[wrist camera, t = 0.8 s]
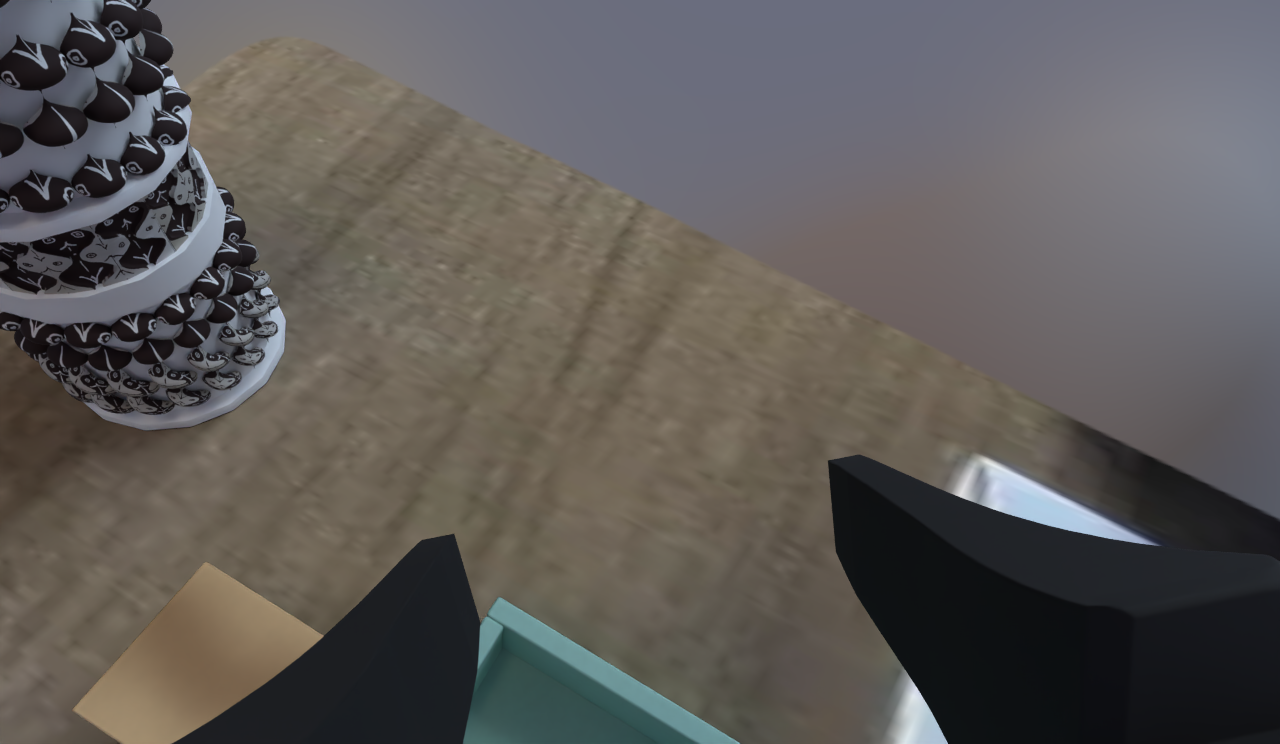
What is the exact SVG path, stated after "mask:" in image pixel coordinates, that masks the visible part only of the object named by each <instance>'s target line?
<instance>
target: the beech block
mask: <svg viewBox="0 0 1280 744" xmlns="http://www.w3.org/2000/svg"><path fill="white" fill-rule="evenodd" d="M322 637H324V635H322V634H320V633H319V632H317V631H316V630H314V629H312V628H311V627H309V626H308V625H306V624H305V623H303V622H301V621H300V620H298V619H297V618H295V617H293V616H292V615H290V614H289V613H287V612H286V611H284V610H282V609H281V608H279V607H278V606H276V605H275V604H273V603H271V602H270V601H268V600H267V599H265V598H263V597H262V596H260V595H259V594H257V593H256V592H254V591H252V590H251V589H249V588H248V587H246V586H244V585H243V584H241V583H240V582H238V581H237V580H235V579H233V578H232V577H230V576H229V575H227V574H225V573H224V572H222V571H221V570H219V569H218V568H216V567H214V566H213V565H211V564H210V563H208V562H205V563H204V564H203V565H202V566H201V567H200V568H199V569H198V570H197V571H196V573H195V574H194V575H193V576H192V577H191V578H190V579H189V580H188V581H187V583H186V584H185V585H184V586H183V587H182V588H181V589H180V590H179V591H178V593H177V594H176V595H175V596H174V597H173V598H172V599H171V600H170V601H169V603H168V604H167V605H166V606H165V607H164V608H163V609H162V610H161V611H160V613H159V614H158V615H157V616H156V617H155V618H154V619H153V620H152V621H151V623H150V624H149V625H148V626H147V627H146V628H145V629H144V630H143V631H142V633H141V634H140V635H139V636H138V637H137V638H136V639H135V640H134V641H133V643H132V644H131V645H130V646H129V647H128V648H127V649H126V650H125V651H124V653H123V654H122V655H121V656H120V657H119V658H118V659H117V660H116V662H115V663H114V664H113V665H112V666H111V667H110V668H109V669H108V670H107V672H106V673H105V674H104V675H103V676H102V677H101V678H100V679H99V680H98V682H97V683H96V684H95V685H94V686H93V687H92V688H91V689H90V690H89V692H88V693H87V694H86V695H85V696H84V697H83V698H82V699H81V700H80V702H79V703H78V704H77V705H76V706H75V707H74V708H73V712H74V713H76V714H77V715H79V716H80V717H82V718H83V719H85V720H86V721H88V722H89V723H91V724H92V725H94V726H95V727H97V728H98V729H100V730H101V731H103V732H104V733H106V734H107V735H109V736H110V737H112V738H113V739H115V740H116V741H118V742H119V743H121V744H172V743H174V742H175V741H177V740H179V739H181V738H182V737H184V736H186V735H187V734H189V733H191V732H192V731H194V730H196V729H197V728H199V727H201V726H202V725H204V724H206V723H207V722H209V721H210V720H212V719H214V718H215V717H217V716H218V715H220V714H221V713H223V712H224V711H226V710H227V709H228V708H230V707H231V706H233V705H234V704H236V703H237V702H239V701H240V700H242V699H243V698H245V697H246V696H248V695H249V694H250V693H252V692H253V691H255V690H256V689H258V688H259V687H261V686H262V685H264V684H265V683H266V682H268V681H269V680H271V679H272V678H273V677H275V676H276V675H277V674H278V673H280V672H281V671H282V670H284V669H285V668H286V667H287V666H289V665H290V664H291V663H292V662H294V661H295V660H296V659H298V658H299V657H300V656H301V655H303V654H304V653H305V652H306V651H307V650H309V649H310V648H311V647H312V646H313V645H314V644H316V643H317V642H318V641H319V640H320V639H321V638H322Z"/></svg>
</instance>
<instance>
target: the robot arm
mask: <svg viewBox="0 0 1280 744" xmlns="http://www.w3.org/2000/svg"><path fill="white" fill-rule="evenodd" d="M828 467H829V478H830V490H831V501H832V513H833V524H834V536H835V547H836V553H837V555H838V557H839V560H840V562H841V564H842V566H843V568H844V571H845V573H846V575H847V577H848V579H849V581H850V583H851V585H852V587H853V589H854V591H855V593H856V595H857V597H858V598H859V600H860V602H861V603H862V605H863V606H864V608H865V609H866V611H867V612H868V614H869V615H870V617H871V619H872V620H873V622H874V623H875V625H876V626H877V628H878V629H879V631H880V632H881V634H882V635H883V637H884V638H885V640H886V641H887V643H888V644H889V646H890V647H891V649H892V650H893V652H894V653H895V655H896V656H897V658H898V660H899V661H900V663H901V664H902V666H903V667H904V669H905V670H906V672H907V673H908V675H909V676H910V678H911V679H912V681H913V682H914V684H915V685H916V687H917V688H918V690H919V691H920V693H921V695H922V697H923V698H924V700H925V702H926V703H927V705H928V707H929V708H930V710H931V712H932V713H933V715H934V717H935V719H936V721H937V723H938V725H939V727H940V729H941V731H942V733H943V735H944V737H945V739H946V740H947V742H948V744H1280V562H1279V561H1278V560H1276V559H1274V558H1273V557H1271V556H1269V555H1260V554H1245V553H1230V552H1215V551H1200V550H1187V549H1178V548H1170V547H1162V546H1154V545H1146V544H1138V543H1132V542H1126V541H1120V540H1113V539H1108V538H1103V537H1098V536H1093V535H1088V534H1083V533H1078V532H1073V531H1068V530H1064V529H1060V528H1056V527H1051V526H1047V525H1044V524H1040V523H1036V522H1033V521H1029V520H1026V519H1022V518H1019V517H1015V516H1012V515H1009V514H1005V513H1002V512H999V511H996V510H993V509H990V508H988V507H985V506H982V505H979V504H977V503H974V502H971V501H968V500H966V499H963V498H960V497H958V496H955V495H953V494H950V493H948V492H945V491H943V490H941V489H938V488H936V487H934V486H931V485H929V484H927V483H924V482H922V481H920V480H918V479H915V478H913V477H911V476H909V475H906V474H904V473H902V472H900V471H897V470H895V469H893V468H891V467H889V466H886V465H884V464H882V463H880V462H877V461H875V460H873V459H870V458H868V457H865V456H862V455H855V456H849V457H844V458H839V459H834V460H829V461H828ZM479 641H480V620H479V616H478V613H477V610H476V606H475V603H474V599H473V596H472V593H471V589H470V586H469V583H468V579H467V576H466V572H465V569H464V566H463V562H462V559H461V555H460V552H459V549H458V545H457V542H456V539H455V535H454V534H451V535H446V536H440V537H435V538H430V539H425V540H422V541H420V542H419V543H418V544H417V545H416V546H415V547H414V548H413V549H412V550H411V551H410V552H409V553H408V554H407V555H406V556H405V557H404V558H403V559H402V560H401V561H400V562H399V563H398V564H397V565H396V566H395V567H394V568H393V569H392V570H391V571H390V572H389V573H388V574H387V575H386V576H385V577H384V578H383V579H382V580H381V581H380V582H379V583H378V584H377V586H376V587H375V588H374V589H373V590H372V591H371V592H370V593H369V594H368V595H367V596H366V597H365V598H364V599H363V600H362V601H361V602H360V603H359V604H358V605H357V606H356V607H355V608H353V609H352V610H351V611H350V612H349V613H348V614H347V615H346V616H345V617H344V618H343V619H342V620H341V621H340V622H338V623H337V624H336V625H335V626H334V627H333V628H332V629H331V630H330V631H329V632H328V633H327V634H326V635H325V636H324V637H322V638H321V639H320V640H319V641H318V642H317V643H316V644H314V645H313V646H312V647H311V648H310V649H309V650H307V651H306V652H305V653H304V654H303V655H301V656H300V657H299V658H298V659H296V660H295V661H294V662H292V663H291V664H290V665H289V666H287V667H286V668H285V669H284V670H282V671H281V672H280V673H278V674H277V675H276V676H275V677H273V678H272V679H271V680H269V681H268V682H266V683H265V684H264V685H262V686H261V687H259V688H258V689H256V690H255V691H253V692H252V693H250V694H249V695H248V696H246V697H245V698H243V699H242V700H240V701H239V702H237V703H236V704H234V705H233V706H231V707H230V708H228V709H227V710H226V711H224V712H223V713H221V714H220V715H218V716H217V717H215V718H214V719H212V720H210V721H209V722H207V723H206V724H204V725H202V726H201V727H199V728H197V729H196V730H194V731H192V732H191V733H189V734H187V735H186V736H184V737H182V738H181V739H179V740H177V741H175V742H174V743H172V744H463V741H464V736H465V731H466V726H467V721H468V717H469V712H470V707H471V702H472V697H473V692H474V687H475V682H476V676H477V670H478V657H479Z"/></svg>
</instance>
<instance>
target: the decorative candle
mask: <svg viewBox="0 0 1280 744" xmlns="http://www.w3.org/2000/svg"><path fill="white" fill-rule="evenodd" d="M150 1H151V0H0V329H3V330H7V331H16V332H15V334H14V339H15V342H16V344H17V346H18V347H19V348H20V349H22V350H23V351H25V352H26V353H27V354H28V355H29V356H30V357H31V358H33V359H34V360H36V361H39V364H40V366H41V368H42V369H43V371H44V372H45V373H46V374H47V375H48V376H49V377H51V378H52V379H54V380H56V381H58V382H60V383H62V384H63V386H64V388H65V390H66V391H67V392H68V393H69V394H70V395H71V396H72V397H74V398H75V399H77V400H79V401H82V402H84V403H85V404H86V405H87V406H88V407H90V408H91V409H92V410H93V411H94V412H96V413H97V414H98V415H99V416H100V417H102V418H103V419H104V420H107V421H111V422H115V423H119V424H122V425H126V426H130V427H134V428H138V429H141V430H145V431H146V430H158V429H170V428H183V427H192V426H195V425H197V424H200V423H202V422H205V421H207V420H210V419H212V418H215V417H217V416H220V415H222V414H225V413H227V412H230V411H232V410H234V409H235V408H237V407H238V406H239V405H240V404H242V403H243V402H244V401H245V400H246V399H248V398H249V397H250V396H251V395H252V394H254V393H255V392H256V391H257V390H259V389H260V388H261V387H262V386H263V385H265V384H266V383H267V381H268V379H269V377H270V376H271V374H272V372H273V370H274V369H275V367H276V365H277V363H278V362H279V360H280V358H281V356H282V354H283V353H284V344H285V327H286V320H285V317H284V315H283V313H282V311H281V309H280V307H279V303H280V299H279V298H278V297H277V296H275V295H273V293H272V291H271V289H269V288H268V287H267V286H268V285H269V284H270V281H271V279H270V276H269V275H268V274H267V273H266V272H265V271H256V272H253V271H251V270H250V265H251V264H254V263H256V262H257V261H258V259H259V253H258V251H257V250H256V248H255V247H254V245H253V244H251V243H250V242H248V241H246V240H242V239H243V238H244V236H245V233H246V228H245V222H244V220H243V219H242V218H241V217H240V216H238V215H237V214H235V213H232V212H231V211H232V210H233V207H234V200H233V197H232V195H231V193H230V192H229V191H228V190H227V189H225V188H222V187H216V186H215V184H214V181H213V179H212V177H211V175H210V173H209V171H208V169H207V167H206V165H205V163H204V161H203V159H202V157H201V155H200V153H199V152H198V151H197V150H196V149H194V148H193V147H191V145H190V143H189V141H188V134H189V128H190V122H191V115H192V112H191V110H190V108H189V105H188V104H189V103H190V102H191V98H190V97H189V96H188V95H187V93H186V92H184V91H183V90H181V89H180V87H179V85H178V83H177V81H176V79H175V77H174V75H173V71H172V70H170V69H169V67H167V66H165V65H163V64H165V63H166V62H167V61H169V59H170V58H171V56H172V54H173V45H172V43H171V42H170V41H169V40H168V39H167V38H166V37H165V36H163V35H162V34H161V31H162V25H161V22H160V19H159V18H158V16H157V15H156V14H155V13H154V12H153V11H151V10H150V9H147V8H145V7H146V6H147V5H148V4H149V3H150ZM138 33H139V39H140V48H139V47H138V46H137V45H136V43H135V40H134V39H133V37H135V36H136V35H137V34H138ZM245 267H246V268H245ZM247 268H248V269H247Z"/></svg>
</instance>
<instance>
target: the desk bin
mask: <svg viewBox="0 0 1280 744" xmlns="http://www.w3.org/2000/svg"><path fill="white" fill-rule="evenodd" d="M463 744H741V743H739V742H737V741H736V740H734V739H732V738H731V737H729V736H727V735H726V734H724V733H723V732H721V731H719V730H718V729H716V728H714V727H713V726H711V725H709V724H708V723H706V722H704V721H703V720H701V719H700V718H698V717H696V716H695V715H693V714H691V713H690V712H688V711H686V710H685V709H683V708H681V707H680V706H678V705H677V704H675V703H673V702H672V701H670V700H668V699H667V698H665V697H663V696H662V695H660V694H658V693H657V692H655V691H654V690H652V689H650V688H649V687H647V686H645V685H644V684H642V683H640V682H639V681H637V680H635V679H634V678H632V677H630V676H629V675H627V674H626V673H624V672H622V671H621V670H619V669H617V668H616V667H614V666H612V665H611V664H609V663H607V662H606V661H604V660H603V659H601V658H599V657H598V656H596V655H594V654H593V653H591V652H589V651H588V650H586V649H584V648H583V647H581V646H580V645H578V644H576V643H575V642H573V641H571V640H570V639H568V638H566V637H565V636H563V635H561V634H560V633H558V632H557V631H555V630H553V629H552V628H550V627H548V626H547V625H545V624H543V623H542V622H540V621H538V620H537V619H535V618H534V617H532V616H530V615H529V614H527V613H525V612H524V611H522V610H520V609H519V608H517V607H515V606H514V605H512V604H510V603H509V602H507V601H506V600H504V599H502V598H501V597H498V598H497V599H496V600H495V602H494V604H493V605H492V607H491V608H490V610H489V611H488V613H487V617H485V618H484V619H483V621H482V622H481V624H480V641H479V657H478V670H477V676H476V682H475V687H474V692H473V697H472V702H471V707H470V712H469V717H468V721H467V726H466V731H465V736H464V741H463Z"/></svg>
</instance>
